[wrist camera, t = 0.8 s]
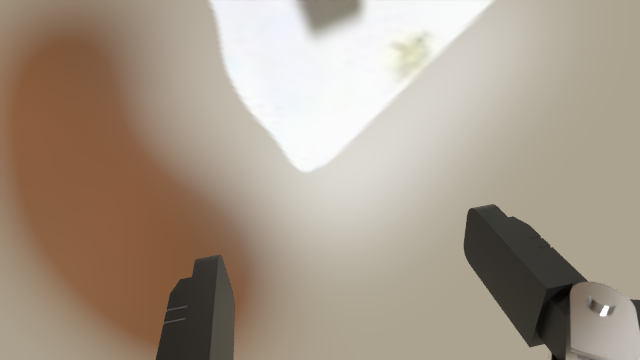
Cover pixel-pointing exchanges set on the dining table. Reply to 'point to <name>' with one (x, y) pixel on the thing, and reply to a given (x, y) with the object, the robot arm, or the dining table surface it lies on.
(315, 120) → the dining table surface
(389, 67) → the dining table surface
